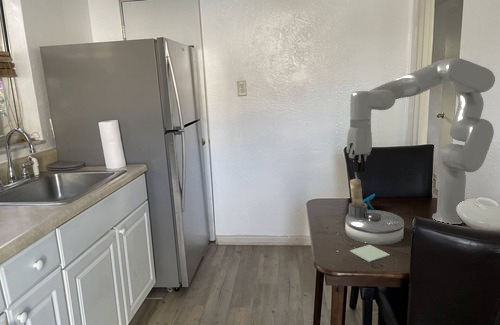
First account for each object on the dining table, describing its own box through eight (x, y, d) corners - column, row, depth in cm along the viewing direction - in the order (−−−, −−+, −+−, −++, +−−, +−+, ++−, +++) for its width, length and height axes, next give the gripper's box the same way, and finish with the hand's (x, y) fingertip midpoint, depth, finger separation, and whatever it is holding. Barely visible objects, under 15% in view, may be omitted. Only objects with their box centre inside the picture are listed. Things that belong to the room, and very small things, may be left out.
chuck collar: (414, 222, 132) (414, 208, 131) (385, 238, 118) (385, 223, 117) (364, 209, 147) (365, 197, 146) (334, 222, 134) (334, 209, 133)
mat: (369, 245, 123) (369, 244, 123) (389, 255, 115) (389, 254, 115) (349, 251, 119) (349, 250, 119) (369, 262, 111) (369, 261, 111)
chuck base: (373, 219, 148) (373, 210, 147) (416, 236, 129) (416, 226, 128) (334, 229, 139) (334, 220, 138) (373, 249, 120) (374, 238, 119)
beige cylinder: (351, 214, 138) (347, 181, 134) (356, 210, 141) (353, 178, 137) (360, 216, 135) (357, 183, 131) (365, 212, 138) (362, 179, 134)
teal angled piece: (365, 200, 168) (377, 189, 161) (373, 210, 166) (385, 200, 159) (350, 208, 162) (362, 197, 155) (358, 219, 160) (371, 208, 153)
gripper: (364, 122, 139) (363, 167, 143) (339, 125, 130) (338, 173, 134) (381, 123, 133) (379, 170, 137) (355, 126, 124) (354, 176, 128)
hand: (359, 171), depth 135 cm, fingers closed
